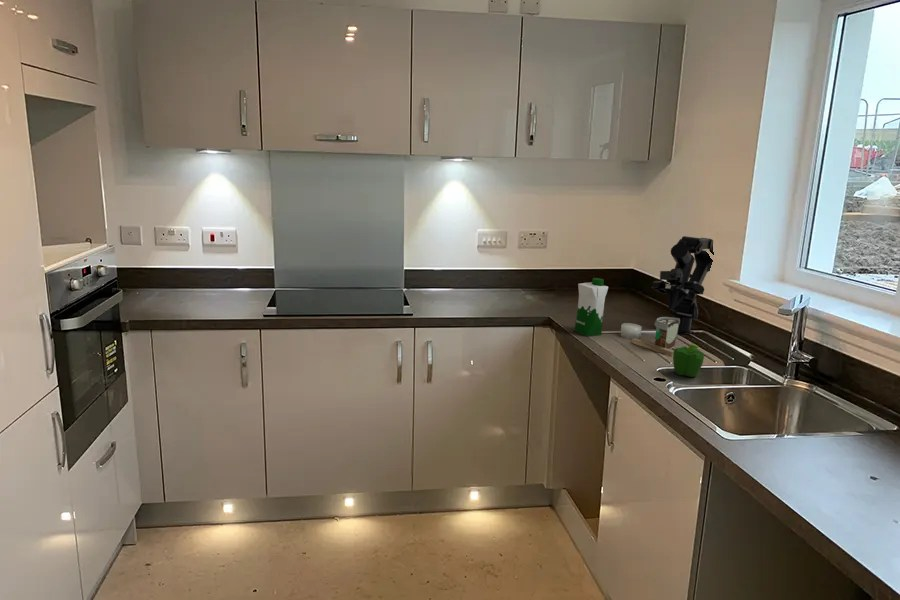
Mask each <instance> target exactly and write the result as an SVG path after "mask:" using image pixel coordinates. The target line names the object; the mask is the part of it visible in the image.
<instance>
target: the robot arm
mask: <svg viewBox="0 0 900 600" xmlns="http://www.w3.org/2000/svg"><path fill="white" fill-rule="evenodd" d="M713 243H714V239H713V238H707V237H694V236H693V237H692V236H686V235H684V236H682V237H681V238H680V239H679V240H678V242H676V244H674V245H673V246H672V247H671V248H670V255H671V257H672V259H673V260H674V261H675V266H674V268H671V269H670V270H660V271H659V272H660V273H659V280H654V281H653V282H652V284H651V289H653V290H654V291H656V292H658V293H660V294H665V295H666V294H667V295H666V296H667V302H668V303H667V304H668V310H670V315H672V316H674V318H679V319H680V324H679V327H678V332H677V334H681V335H689V334H693V333H692V332H694V333H695V330H691V327H692V321H693V320H694V319H695V320H696V319H698V317H699V316H698V315H699V309H698V308H699V307H698V304H697V295H704V293H705V292H704V291H705V287H704V285H702V284H703V282H704V280H705V278H706V276H707V274H708V272H711V271H710V268H711V265H712V262H713V260H712V259H711V258H710V256H709V254H708V253H707V252H706V251H707V250H708V251H710V252H711V253H712V254H713V255H714V252H713ZM694 264H695V267H694ZM693 267H694V269H693ZM692 270H693V271H692ZM664 281H665V282H664Z"/></svg>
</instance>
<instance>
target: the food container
mask: <svg viewBox="0 0 900 600" xmlns="http://www.w3.org/2000/svg"><path fill="white" fill-rule="evenodd" d="M679 324H680V319H679V318H675V317H670V316H661V317H657V318H656V320H655V322H654V324H653V325H654V326H655V338H654V345H657V346H660V347H663V348H666V349H669V350H672V349H673V348H676V343H677V342H676V341H677V337H678V333H677V332H678V327H679Z"/></svg>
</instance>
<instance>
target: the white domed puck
mask: <svg viewBox="0 0 900 600" xmlns="http://www.w3.org/2000/svg"><path fill="white" fill-rule="evenodd" d="M642 328H643V327H642V326H641V325H639V324H637V323H630V322H624V323H621V328H620V337H622V338H625V339H628V340H629V339H630V340H632V339H634V338H636V339H639V340H640V339H641V335H642Z"/></svg>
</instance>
